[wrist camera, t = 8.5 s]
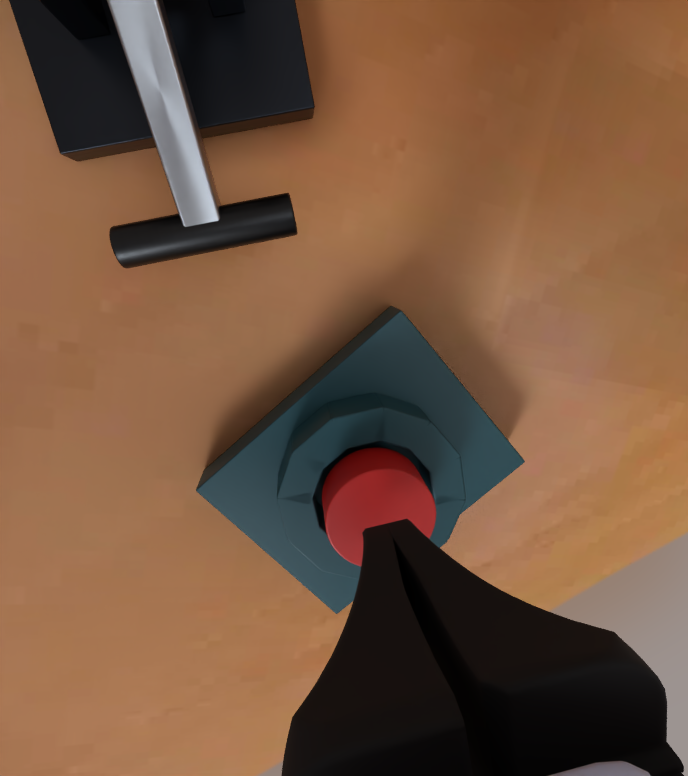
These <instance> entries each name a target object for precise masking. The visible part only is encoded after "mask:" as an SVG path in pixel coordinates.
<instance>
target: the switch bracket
mask: <svg viewBox="0 0 688 776" xmlns="http://www.w3.org/2000/svg"><path fill="white" fill-rule="evenodd" d="M9 1H10V4H11V7H12V10H13V13H14V16H15V19H16V22H17V25H18V28H19V31H20V34H21V37H22V40H23V43H24V46H25V49H26V52H27V55H28V58H29V61H30V64H31V67H32V70H33V73H34V76H35V79H36V82H37V85H38V88H39V91H40V94H41V97H42V100H43V103H44V106H45V109H46V112H47V115H48V118H49V121H50V124H51V127H52V130H53V133H54V136H55V139H56V142H57V145H58V148H59V151H60V153H61V154H62V155H64V156H66V157H69V158H71V159H73V160H75V161H82V160H88V159H93V158H99V157H104V156H109V155H115V154H120V153H126V152H131V151H137V150H142V149H147V148H153V147H156V145H155V142H154V139H153V136H152V133H151V130H150V127H149V124H148V121H147V118H146V115H145V112H144V109H143V106H142V103H141V100H140V97H139V94H138V91H137V88H136V85H135V82H134V79H133V76H132V73H131V70H130V67H129V65H128V62H127V59H126V56H125V53H124V50H123V47H122V44H121V41H120V38H119V35H118V32H117V29H116V26H115V23H114V20H113V17H112V14H111V11H110V8H109V5H108V2H107V0H9ZM163 3H164V7H165V10H166V14H167V17H168V21H169V24H170V28H171V31H172V35H173V38H174V42H175V45H176V49H177V53H178V56H179V60H180V63H181V67H182V70H183V74H184V77H185V81H186V84H187V88H188V91H189V95H190V98H191V102H192V105H193V109H194V112H195V116H196V119H197V123H198V127H199V130H200V134H201V137H202V138H207V137H213V136H218V135H224V134H229V133H234V132H240V131H245V130H251V129H256V128H262V127H267V126H272V125H278V124H283V123H289V122H294V121H300V120H305V119H310V118H313V113H314V107H315V106H314V101H313V95H312V90H311V84H310V79H309V74H308V68H307V63H306V57H305V52H304V47H303V41H302V36H301V30H300V25H299V20H298V14H297V9H296V3H295V0H163Z"/></svg>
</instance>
